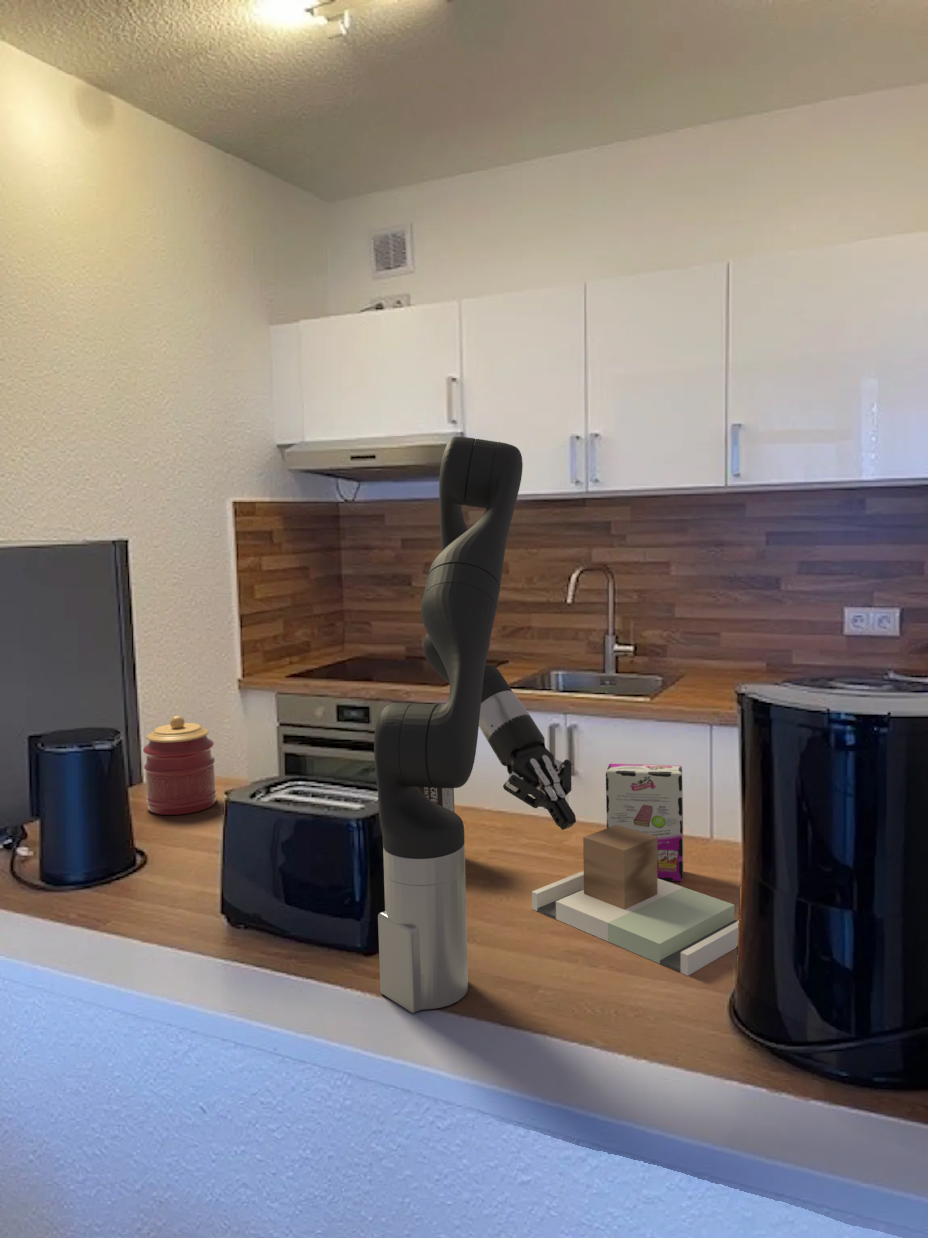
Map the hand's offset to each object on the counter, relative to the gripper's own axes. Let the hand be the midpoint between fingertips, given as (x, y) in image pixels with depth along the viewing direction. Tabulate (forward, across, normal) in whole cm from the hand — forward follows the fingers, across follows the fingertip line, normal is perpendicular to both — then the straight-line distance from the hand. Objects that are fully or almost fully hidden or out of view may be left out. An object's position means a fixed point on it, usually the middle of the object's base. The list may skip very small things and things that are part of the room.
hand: (569, 825), depth 130 cm
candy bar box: (+10, +13, +5) cm, 17 cm away
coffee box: (-10, -7, +24) cm, 28 cm away
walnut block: (+12, 0, -2) cm, 12 cm away
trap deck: (+16, 0, -3) cm, 17 cm away
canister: (-49, -24, +64) cm, 84 cm away
